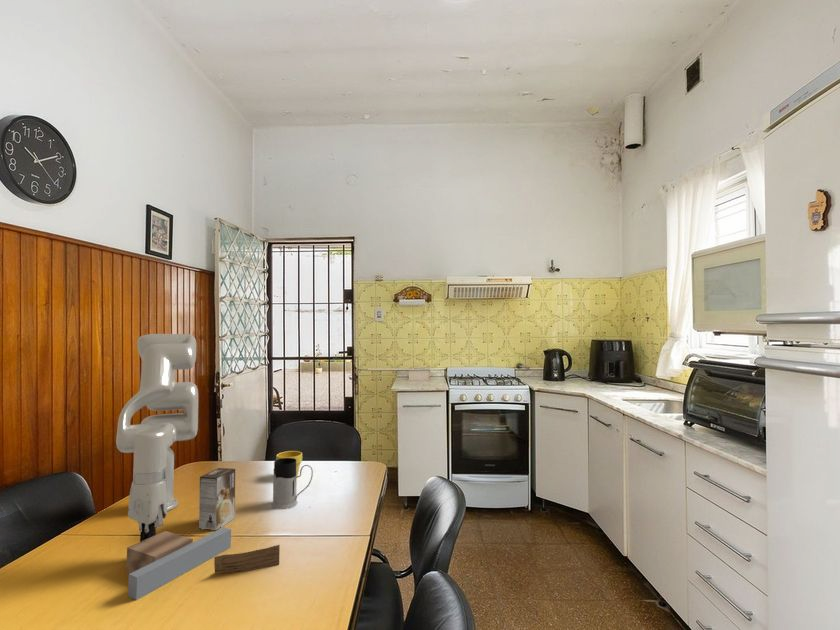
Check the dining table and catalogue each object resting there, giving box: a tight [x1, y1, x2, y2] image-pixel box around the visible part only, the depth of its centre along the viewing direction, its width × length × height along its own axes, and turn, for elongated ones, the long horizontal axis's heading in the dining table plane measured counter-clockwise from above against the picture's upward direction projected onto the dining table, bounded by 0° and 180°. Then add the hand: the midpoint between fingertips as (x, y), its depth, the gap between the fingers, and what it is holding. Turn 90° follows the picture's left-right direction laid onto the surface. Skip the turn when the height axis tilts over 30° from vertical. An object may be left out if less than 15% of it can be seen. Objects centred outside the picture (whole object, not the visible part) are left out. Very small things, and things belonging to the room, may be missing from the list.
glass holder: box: [271, 458, 314, 510], centre depth 150 cm, size 9×14×15 cm, turn 88°
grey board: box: [127, 526, 232, 601], centre depth 108 cm, size 3×26×5 cm, turn 156°
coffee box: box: [198, 467, 236, 531], centre depth 134 cm, size 9×6×16 cm
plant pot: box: [275, 450, 303, 476], centre depth 177 cm, size 10×10×10 cm
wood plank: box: [213, 544, 281, 574], centre depth 108 cm, size 15×2×5 cm, turn 111°
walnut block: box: [125, 530, 194, 574], centre depth 110 cm, size 11×10×6 cm
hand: (147, 544), depth 114 cm, fingers closed
